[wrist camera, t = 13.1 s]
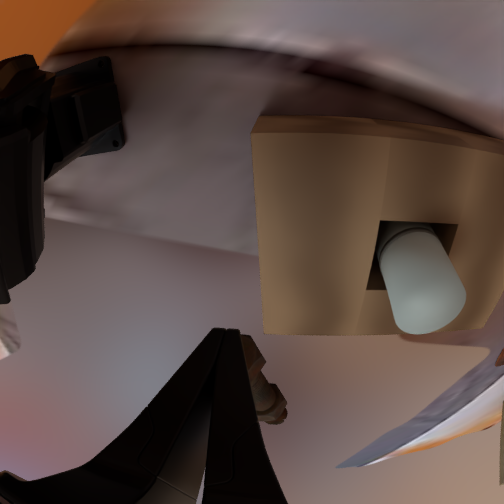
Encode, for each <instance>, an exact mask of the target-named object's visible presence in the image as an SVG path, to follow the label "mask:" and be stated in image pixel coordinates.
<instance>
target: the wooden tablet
mask: <svg viewBox="0 0 504 504" xmlns="http://www.w3.org/2000/svg"><path fill="white" fill-rule="evenodd" d="M501 365H504V349H503V350H502V352H501V354H500V355H499V357H498V359H497V361H496V364H495V366H501Z"/></svg>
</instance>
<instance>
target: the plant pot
mask: <svg viewBox="0 0 504 504" xmlns="http://www.w3.org/2000/svg"><path fill="white" fill-rule="evenodd" d="M500 439H501V440H500V485H503V484H504V401H503V408H502V421H501V438H500Z"/></svg>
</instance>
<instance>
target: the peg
mask: <svg viewBox="0 0 504 504" xmlns="http://www.w3.org/2000/svg"><path fill="white" fill-rule="evenodd" d="M375 251H376V254H377V258H378V261H379V267H380V270H381V273H382V275H383V278H384V281H385V285H386V288H387V292H388V296H389V299H390V303H391V307H392V311H393V315H394V319H395V322H396V324H397V326H398V327H399V328H400V329H401V330H402V331H404V332H407V333H410V334H425V333H430V332H433V331H436V330H438V329H440V328H442V327H444V326H446V325H447V324H449V323H450V322H451V321H452V320H453V319H455V318H456V317H457V315H458V314H459V313H460V312H461V310H462V308H463V306H464V304H465V301H466V291H465V288H464V286H463V284H462V282H461V280H460V278H459V276H458V274H457V272H456V270H455V268H454V267H453V265H452V263H451V261H450V259H449V257H448V255H447V254H446V252H445V250H444V248H443V246H442V243H441V241H440V240H439V238H438V236H437V235H436V234H435V233H434V231H433V229H432V228H431V226H430V224H429V223H428V222H410V221H387V220H380V223H379V228H378V234H377V239H376V245H375Z"/></svg>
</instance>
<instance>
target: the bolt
mask: <svg viewBox="0 0 504 504" xmlns="http://www.w3.org/2000/svg"><path fill="white" fill-rule="evenodd" d="M241 339H242V344H243V349H244V354H245V359H246V364H247V369H248V374H249V378H250V383H251V388H252V393H253V397H254V402H255V407H256V412H257V416H258V421H265V422H266V423H268V424H276V425H277V424H281V423H282V422H284V420H283V419H286V417H287V410H286V408H285V407H286V405H287V401H286V400H285V398H284V396H283V395H282V393H281V392H280V390H279V388H278V387H277V385H276V384H273V383H268V381H267V380H266V378H265V377H264V375H263V374H262V372H261V371H260V370H261V369H262V367H263V366H264V364H265V363H266V361H265V359H264V357H263V356H262V354H261V353H260V351H259V349H258V347H257V346H256V344H255V342H254V341H253V339H252V338H251V336H250V335H245V334H241Z"/></svg>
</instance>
